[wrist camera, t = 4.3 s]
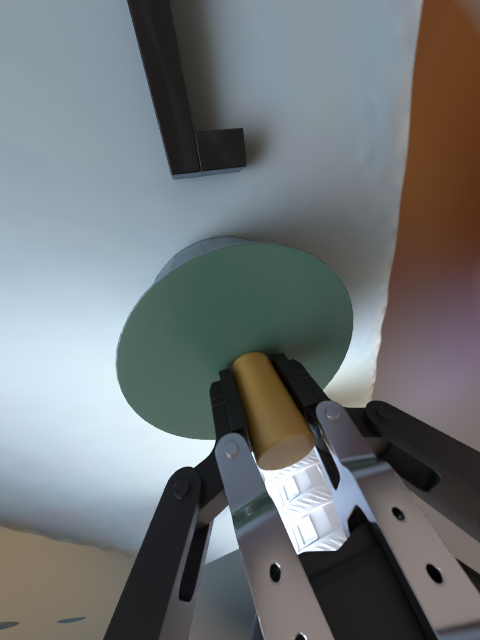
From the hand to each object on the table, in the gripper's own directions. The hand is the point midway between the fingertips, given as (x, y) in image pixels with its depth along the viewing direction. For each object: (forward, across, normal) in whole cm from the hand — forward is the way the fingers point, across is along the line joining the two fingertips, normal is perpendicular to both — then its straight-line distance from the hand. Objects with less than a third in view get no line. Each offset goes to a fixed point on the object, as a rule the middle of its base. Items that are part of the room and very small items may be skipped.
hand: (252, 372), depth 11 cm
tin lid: (+1, 0, 0) cm, 1 cm away
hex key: (+8, 0, -15) cm, 17 cm away
